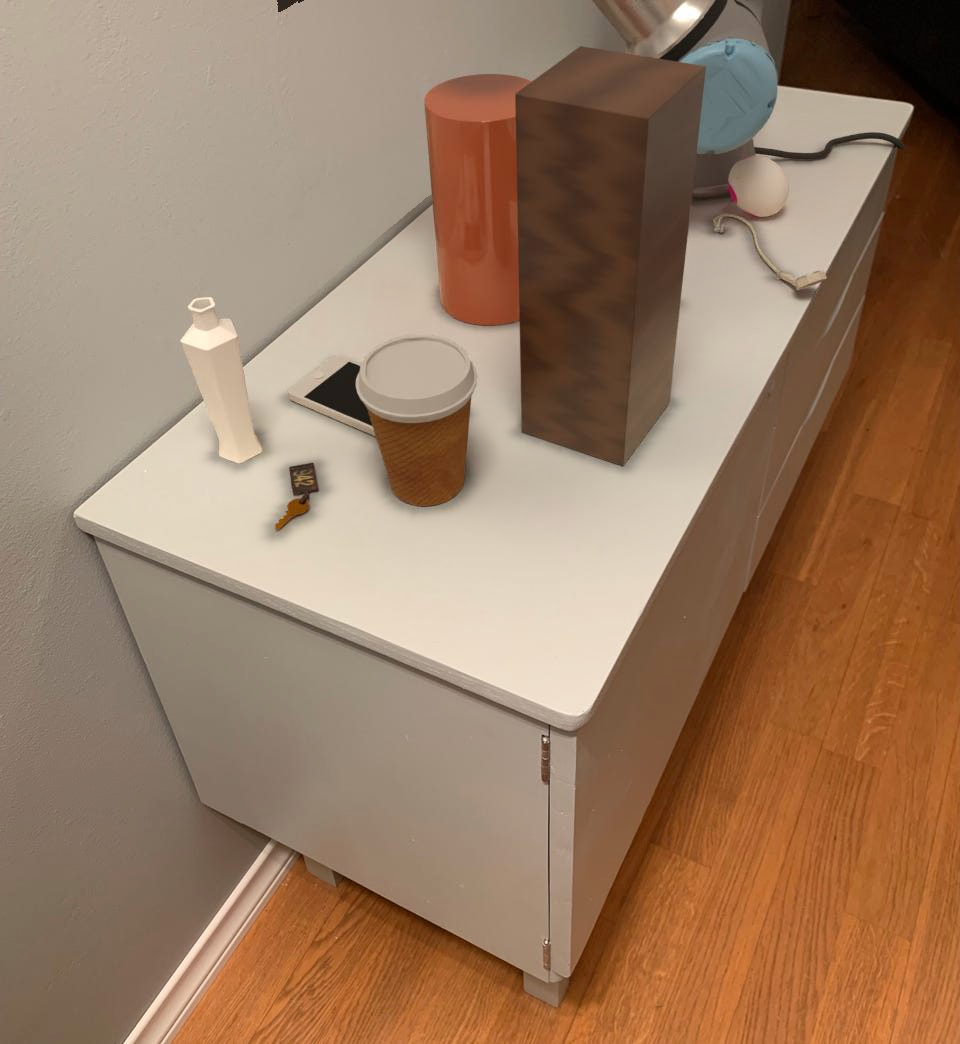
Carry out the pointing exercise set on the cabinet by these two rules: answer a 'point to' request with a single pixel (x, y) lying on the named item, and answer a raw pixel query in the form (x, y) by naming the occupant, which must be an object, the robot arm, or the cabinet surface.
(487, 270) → the pedestal
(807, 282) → the shower head
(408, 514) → the cabinet surface
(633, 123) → the pillar
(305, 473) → the key tag
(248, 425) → the white hexagonal vase
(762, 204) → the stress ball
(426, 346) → the disposable coffee cup
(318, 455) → the cabinet surface
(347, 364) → the smartphone
